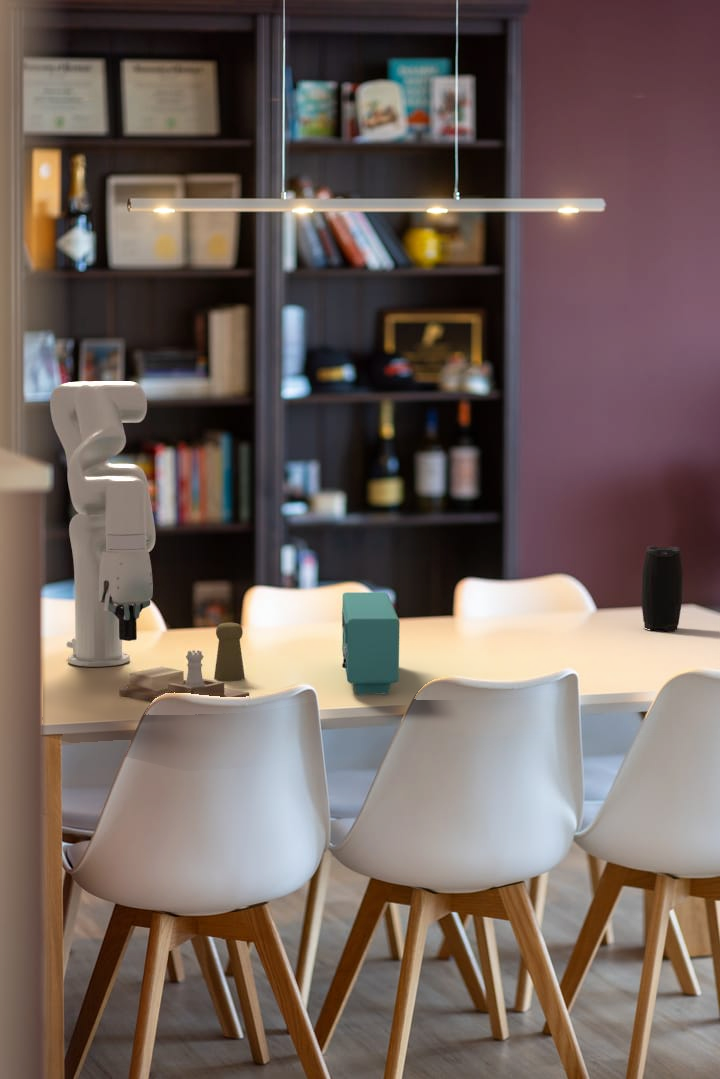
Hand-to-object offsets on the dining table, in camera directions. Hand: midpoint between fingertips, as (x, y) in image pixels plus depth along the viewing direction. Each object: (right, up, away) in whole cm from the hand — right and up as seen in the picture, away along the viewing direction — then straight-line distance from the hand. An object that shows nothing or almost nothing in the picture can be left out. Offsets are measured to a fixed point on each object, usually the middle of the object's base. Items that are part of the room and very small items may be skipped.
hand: (127, 639), depth 282 cm
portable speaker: (+115, -3, +70) cm, 135 cm away
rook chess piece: (+14, -10, -10) cm, 19 cm away
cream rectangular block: (+6, -9, -4) cm, 11 cm away
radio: (+45, -9, +11) cm, 47 cm away
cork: (+18, -9, +11) cm, 23 cm away
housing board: (+11, -10, -7) cm, 17 cm away
